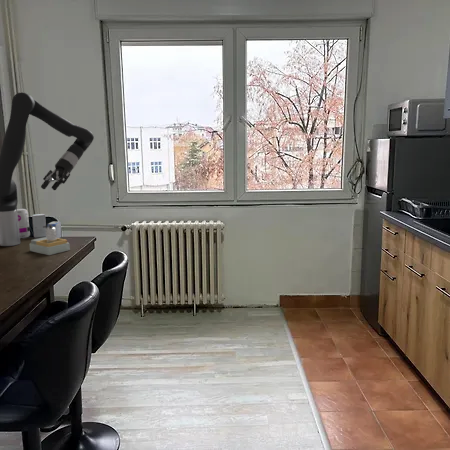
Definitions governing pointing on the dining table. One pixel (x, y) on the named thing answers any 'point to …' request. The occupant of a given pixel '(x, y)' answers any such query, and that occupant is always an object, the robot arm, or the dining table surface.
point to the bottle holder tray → (49, 246)
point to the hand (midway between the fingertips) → (47, 188)
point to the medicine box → (58, 228)
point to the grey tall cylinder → (51, 234)
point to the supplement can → (23, 223)
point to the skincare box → (39, 225)
